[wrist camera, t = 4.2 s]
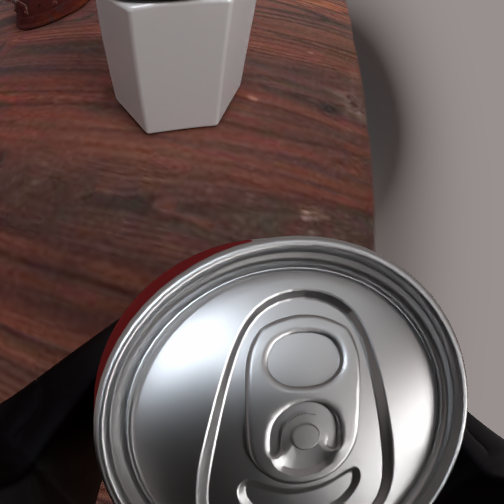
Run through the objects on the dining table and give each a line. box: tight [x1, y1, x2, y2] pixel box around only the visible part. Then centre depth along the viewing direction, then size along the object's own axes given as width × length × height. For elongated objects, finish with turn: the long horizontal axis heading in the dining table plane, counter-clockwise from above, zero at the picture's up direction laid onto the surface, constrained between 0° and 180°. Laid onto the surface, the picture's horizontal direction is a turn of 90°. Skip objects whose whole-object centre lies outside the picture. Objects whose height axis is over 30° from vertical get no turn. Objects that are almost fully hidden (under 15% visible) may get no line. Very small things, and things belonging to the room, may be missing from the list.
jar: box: [96, 0, 256, 134], centre depth 14 cm, size 9×8×12 cm
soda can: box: [94, 236, 468, 504], centre depth 9 cm, size 7×7×12 cm
